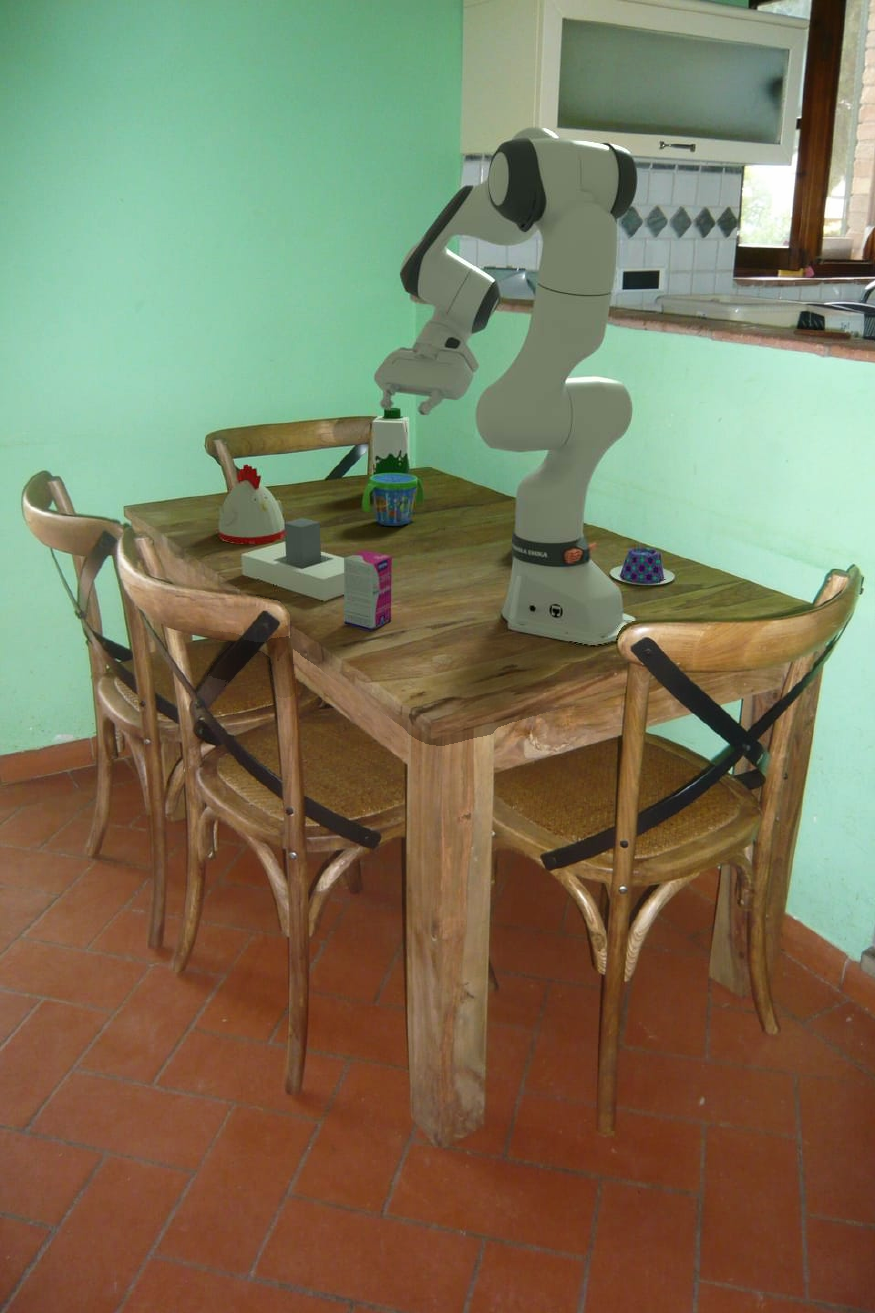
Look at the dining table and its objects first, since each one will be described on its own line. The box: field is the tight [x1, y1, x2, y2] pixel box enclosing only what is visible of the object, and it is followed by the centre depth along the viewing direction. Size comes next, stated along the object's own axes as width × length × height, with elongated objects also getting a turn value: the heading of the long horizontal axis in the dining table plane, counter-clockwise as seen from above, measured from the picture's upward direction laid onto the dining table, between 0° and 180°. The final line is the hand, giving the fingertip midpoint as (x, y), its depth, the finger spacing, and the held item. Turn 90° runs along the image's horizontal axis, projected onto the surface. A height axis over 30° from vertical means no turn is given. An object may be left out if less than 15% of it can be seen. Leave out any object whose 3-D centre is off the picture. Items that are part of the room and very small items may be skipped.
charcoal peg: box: [284, 517, 322, 569], centre depth 181 cm, size 4×4×11 cm
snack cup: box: [361, 473, 425, 527], centre depth 218 cm, size 16×10×10 cm
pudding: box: [609, 547, 676, 586], centre depth 186 cm, size 12×12×5 cm
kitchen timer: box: [218, 464, 285, 545], centre depth 207 cm, size 14×14×15 cm
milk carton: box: [371, 407, 411, 476], centre depth 241 cm, size 9×9×20 cm
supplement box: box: [343, 550, 393, 632], centre depth 162 cm, size 6×6×12 cm
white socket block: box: [240, 541, 345, 602], centre depth 183 cm, size 22×11×4 cm, turn 50°
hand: (403, 410), depth 184 cm, fingers open, 8 cm apart
